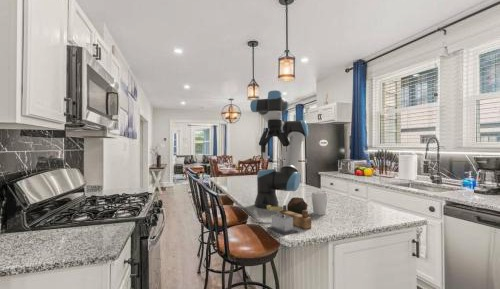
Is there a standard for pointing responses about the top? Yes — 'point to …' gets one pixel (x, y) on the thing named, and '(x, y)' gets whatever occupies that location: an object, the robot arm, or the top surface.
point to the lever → (274, 207)
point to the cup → (319, 202)
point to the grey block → (282, 222)
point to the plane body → (298, 218)
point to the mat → (282, 232)
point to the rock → (297, 205)
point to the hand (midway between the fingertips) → (274, 158)
